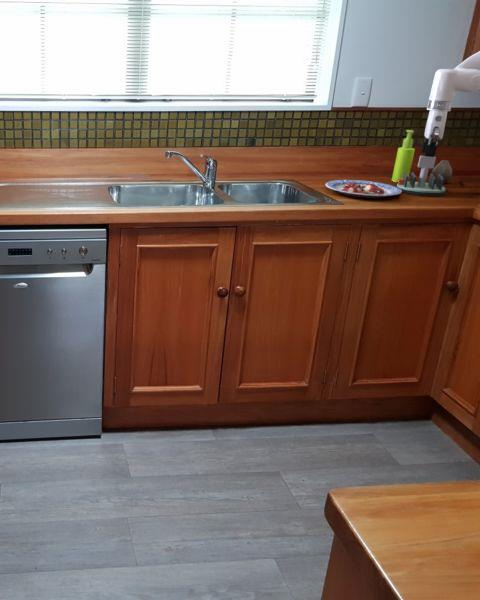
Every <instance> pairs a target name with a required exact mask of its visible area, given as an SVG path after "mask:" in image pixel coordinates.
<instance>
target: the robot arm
mask: <svg viewBox="0 0 480 600" xmlns="http://www.w3.org/2000/svg"><path fill="white" fill-rule="evenodd" d="M479 90H480V50H479V51H477V52H475V53H473V54H472V55H470V56H469V57H467V58H466V59H464V60H463V61H462V62H461V63H459V64H458V65H457V66H455V67H454V68H439V69H437V70H436V71H435V73H434V76H433V81H432V85H431V89H430V94H429V98H428V102H427V107H426V110H427V111H429V113H428V116H427V120H426V124H425V127H424V128H425V129H424V140H423V142H422V146H421V150H420V152H421V153H422V154H424V156H425V157H436V153H437V148H438V144H439V143H438V142H439V141H441V140H442V139H443V137H444V133H445V127H446V123H447V117H448V112H451V110H452V106H453V103H454V98H455V95H456V92H464V93H473V92H478V91H479Z"/></svg>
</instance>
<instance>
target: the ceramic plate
mask: <svg viewBox="0 0 480 600" xmlns="http://www.w3.org/2000/svg"><path fill="white" fill-rule="evenodd" d="M325 186H326V188H328V189H330V190H333V191H335V192H338V193H340V194H342V195H344V196H349V197H355V198H361V199H362V198H364V199H365V198H366V199H379V198H380V199H381V198H385V197H393V196H397V195H400V194H402V193H401V192H402V190H401V189H399V188H397V187H395V186H396V185H395V186H394V185H391V184H387V183H383V182H378V181H371V180H370V181H369V180H362V179H361V180H358V179H337V180H336V179H335V180H330V181H328V182H326V183H325Z"/></svg>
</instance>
